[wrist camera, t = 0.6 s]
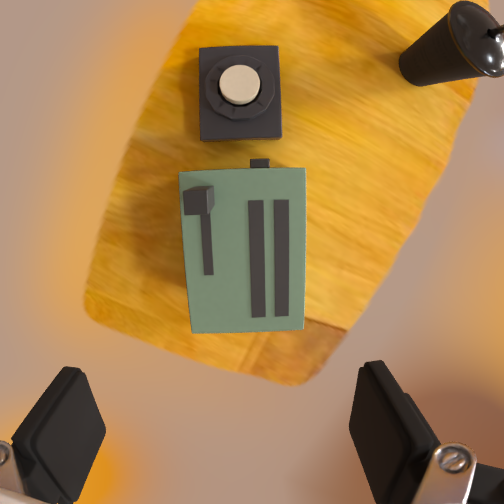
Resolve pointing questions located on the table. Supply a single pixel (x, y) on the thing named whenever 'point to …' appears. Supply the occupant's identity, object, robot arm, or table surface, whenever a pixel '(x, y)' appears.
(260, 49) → the control block
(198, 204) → the slider
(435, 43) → the drinking cup
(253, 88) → the button
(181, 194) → the toaster
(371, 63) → the table surface
